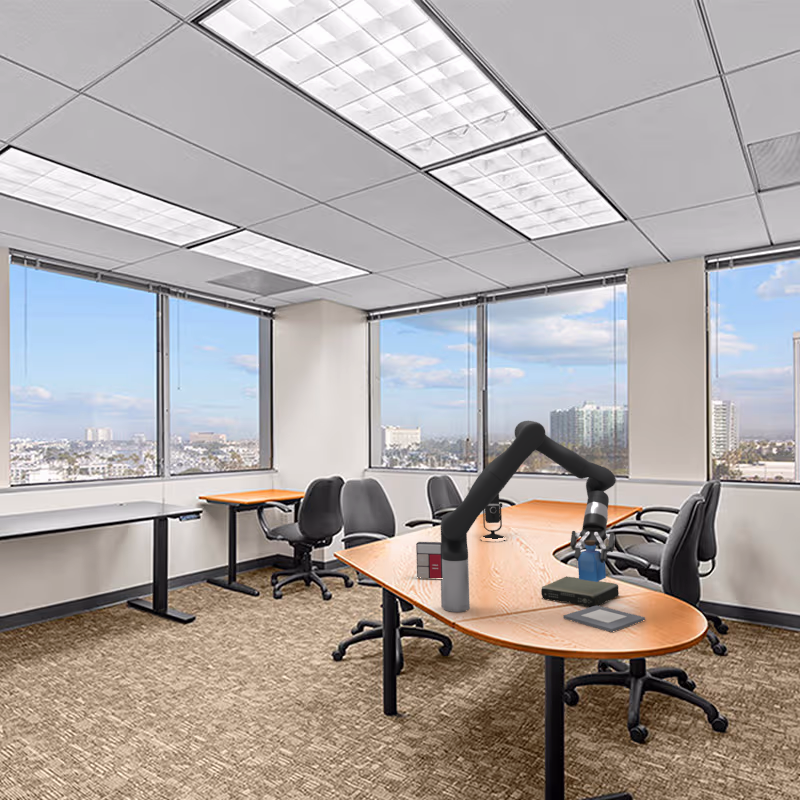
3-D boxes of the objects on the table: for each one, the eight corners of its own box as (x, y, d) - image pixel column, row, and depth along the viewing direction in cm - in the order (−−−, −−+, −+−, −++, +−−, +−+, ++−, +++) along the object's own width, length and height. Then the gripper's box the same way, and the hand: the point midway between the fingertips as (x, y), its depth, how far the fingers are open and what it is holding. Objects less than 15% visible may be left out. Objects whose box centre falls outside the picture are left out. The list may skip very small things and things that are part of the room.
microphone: (480, 542, 334) (479, 488, 336) (478, 537, 350) (476, 486, 352) (508, 542, 334) (507, 488, 335) (504, 537, 349) (503, 485, 351)
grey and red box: (416, 579, 251) (415, 543, 252) (418, 576, 256) (417, 541, 257) (442, 580, 249) (441, 544, 250) (443, 577, 253) (443, 542, 254)
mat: (563, 618, 194) (563, 614, 194) (596, 608, 205) (596, 604, 205) (611, 632, 180) (611, 628, 180) (645, 620, 190) (645, 616, 190)
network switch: (621, 595, 222) (620, 581, 222) (604, 611, 202) (603, 596, 203) (560, 587, 235) (559, 574, 235) (538, 602, 215) (537, 588, 216)
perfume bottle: (579, 579, 193) (576, 541, 194) (588, 575, 197) (585, 538, 198) (596, 581, 189) (594, 543, 189) (605, 577, 193) (603, 540, 194)
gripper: (571, 511, 204) (564, 552, 194) (615, 512, 197) (610, 555, 186) (576, 524, 209) (570, 565, 198) (619, 526, 201) (615, 568, 191)
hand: (589, 560), depth 192 cm, fingers closed on perfume bottle, 7 cm apart
